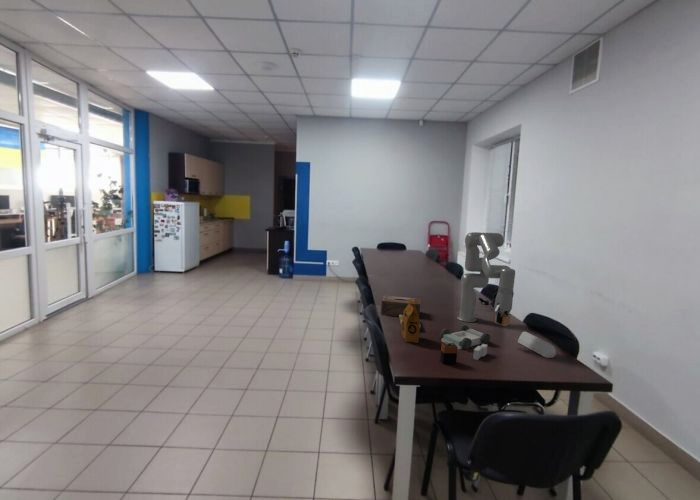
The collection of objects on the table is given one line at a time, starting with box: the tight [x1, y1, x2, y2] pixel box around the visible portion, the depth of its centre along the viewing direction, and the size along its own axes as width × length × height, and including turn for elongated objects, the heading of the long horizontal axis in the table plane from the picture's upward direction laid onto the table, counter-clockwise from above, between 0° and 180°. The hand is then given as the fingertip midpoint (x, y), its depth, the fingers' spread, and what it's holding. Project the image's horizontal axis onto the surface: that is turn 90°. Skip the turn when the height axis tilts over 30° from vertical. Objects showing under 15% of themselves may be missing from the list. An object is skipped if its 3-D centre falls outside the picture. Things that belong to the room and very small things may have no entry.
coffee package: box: [401, 299, 421, 344], centre depth 212 cm, size 10×12×22 cm
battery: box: [439, 342, 458, 365], centre depth 184 cm, size 4×7×10 cm, turn 98°
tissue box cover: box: [380, 294, 421, 317], centre depth 261 cm, size 26×14×10 cm, turn 81°
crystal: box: [517, 331, 557, 359], centre depth 206 cm, size 7×7×24 cm
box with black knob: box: [494, 312, 511, 327], centre depth 209 cm, size 6×4×6 cm
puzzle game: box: [398, 315, 422, 329], centre depth 236 cm, size 12×5×20 cm
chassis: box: [439, 324, 491, 351], centre depth 213 cm, size 24×17×6 cm
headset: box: [478, 286, 514, 309], centre depth 283 cm, size 18×14×29 cm
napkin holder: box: [472, 343, 488, 361], centre depth 194 cm, size 15×11×6 cm
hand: (501, 322), depth 209 cm, fingers closed on box with black knob, 4 cm apart
